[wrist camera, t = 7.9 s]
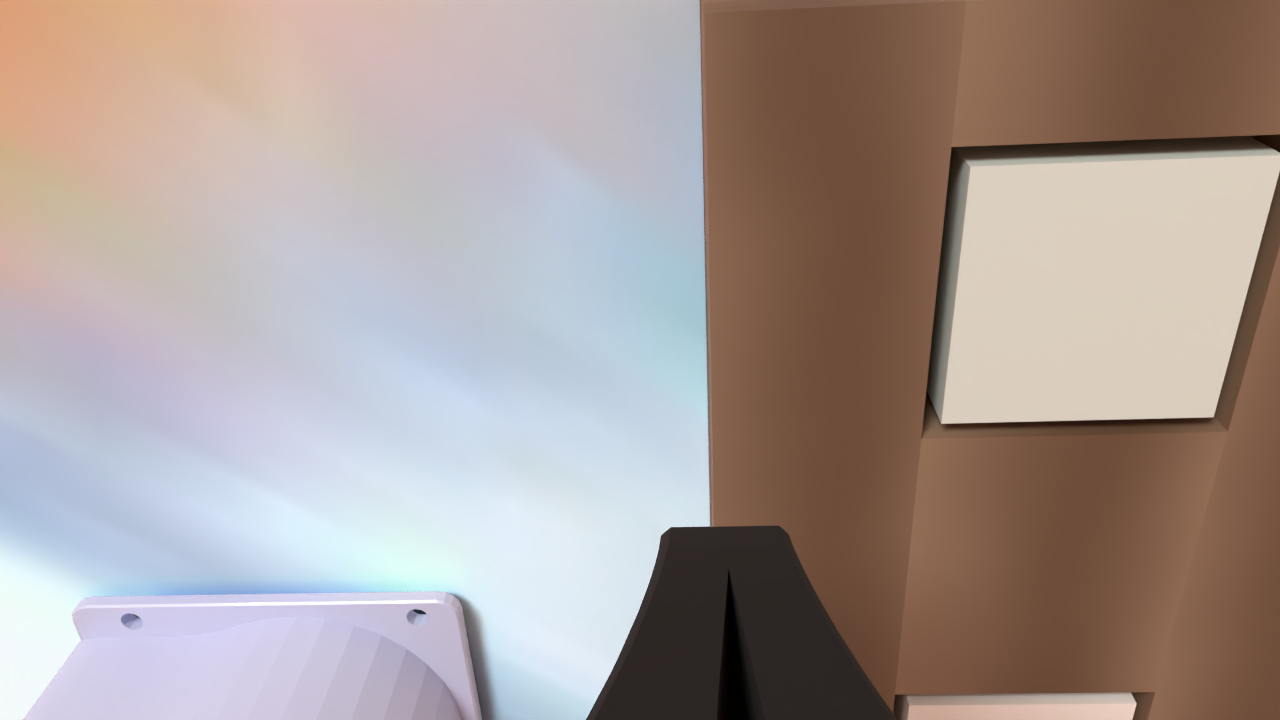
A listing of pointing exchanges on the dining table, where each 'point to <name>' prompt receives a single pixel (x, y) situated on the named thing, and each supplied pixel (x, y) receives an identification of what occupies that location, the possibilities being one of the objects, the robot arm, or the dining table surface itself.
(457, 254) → the dining table surface
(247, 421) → the dining table surface
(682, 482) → the dining table surface
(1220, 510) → the panel
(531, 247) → the dining table surface
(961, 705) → the pale pink block
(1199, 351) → the key front
